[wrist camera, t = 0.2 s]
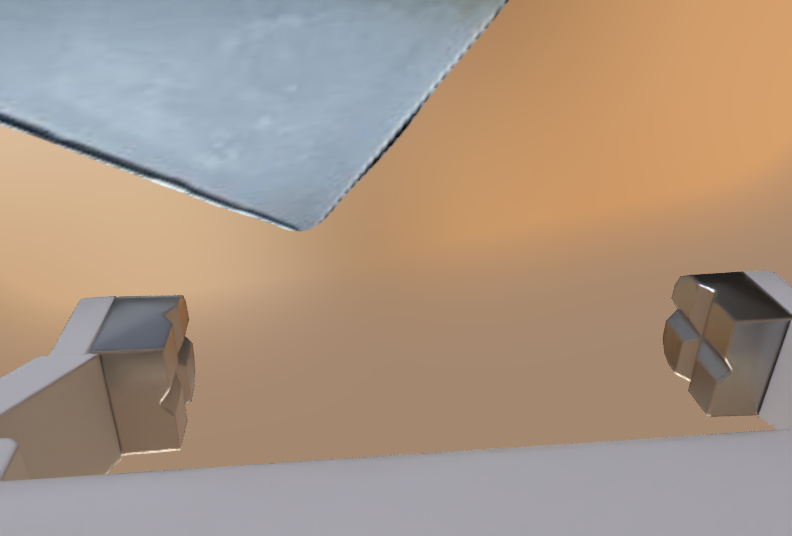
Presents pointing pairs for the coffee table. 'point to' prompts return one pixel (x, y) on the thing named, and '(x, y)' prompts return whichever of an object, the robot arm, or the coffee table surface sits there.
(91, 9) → the coffee table surface
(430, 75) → the coffee table surface
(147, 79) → the coffee table surface
